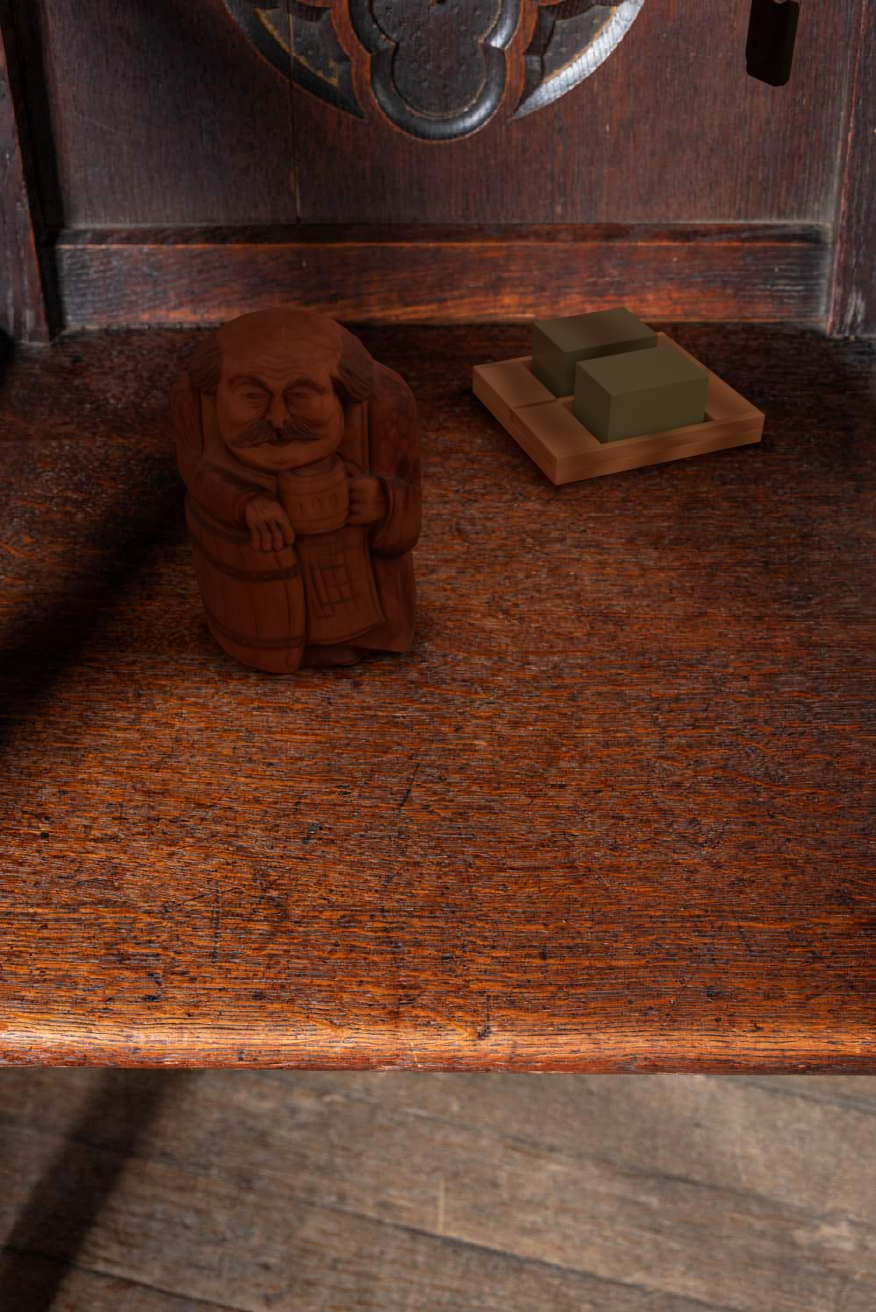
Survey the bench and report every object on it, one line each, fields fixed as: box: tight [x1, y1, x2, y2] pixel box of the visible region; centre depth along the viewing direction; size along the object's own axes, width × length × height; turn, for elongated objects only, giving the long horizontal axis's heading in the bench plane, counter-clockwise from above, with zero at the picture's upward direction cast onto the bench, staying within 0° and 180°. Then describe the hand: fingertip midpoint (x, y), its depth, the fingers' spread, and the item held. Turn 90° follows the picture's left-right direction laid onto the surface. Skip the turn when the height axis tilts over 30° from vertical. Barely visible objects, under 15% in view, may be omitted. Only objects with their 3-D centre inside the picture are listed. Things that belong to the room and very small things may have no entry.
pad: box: [573, 344, 709, 444], centre depth 82 cm, size 7×5×4 cm
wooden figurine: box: [169, 307, 423, 674], centre depth 62 cm, size 12×6×18 cm, turn 98°
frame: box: [472, 306, 766, 487], centre depth 85 cm, size 15×14×5 cm
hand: (843, 70), depth 68 cm, fingers open, 9 cm apart
